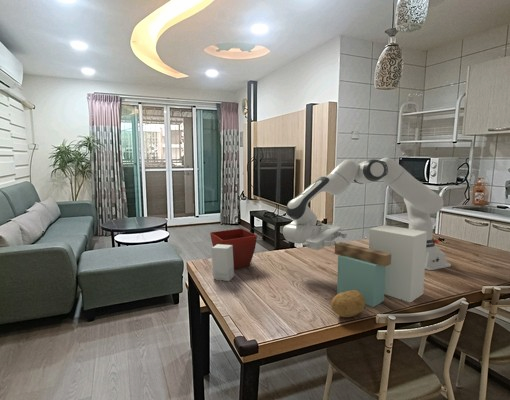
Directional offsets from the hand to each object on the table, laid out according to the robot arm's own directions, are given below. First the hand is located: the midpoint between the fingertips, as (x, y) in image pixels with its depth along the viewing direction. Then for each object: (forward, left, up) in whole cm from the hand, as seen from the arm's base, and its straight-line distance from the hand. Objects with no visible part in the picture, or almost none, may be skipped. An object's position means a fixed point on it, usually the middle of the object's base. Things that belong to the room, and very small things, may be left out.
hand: (340, 239), depth 135 cm
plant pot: (+42, -38, -21) cm, 60 cm away
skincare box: (+49, -20, -21) cm, 57 cm away
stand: (-20, +9, -21) cm, 31 cm away
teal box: (-3, +11, -21) cm, 24 cm away
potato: (+9, +24, -21) cm, 33 cm away
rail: (-3, +11, -5) cm, 13 cm away
